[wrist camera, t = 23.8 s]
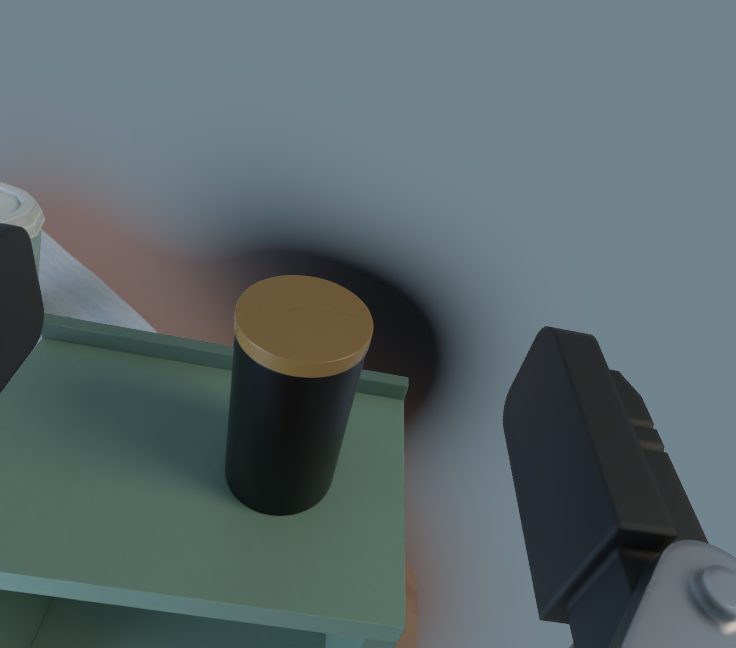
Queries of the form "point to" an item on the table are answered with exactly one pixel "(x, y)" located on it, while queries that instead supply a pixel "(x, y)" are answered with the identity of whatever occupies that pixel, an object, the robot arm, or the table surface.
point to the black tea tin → (292, 390)
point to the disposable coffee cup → (22, 215)
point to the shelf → (183, 508)
